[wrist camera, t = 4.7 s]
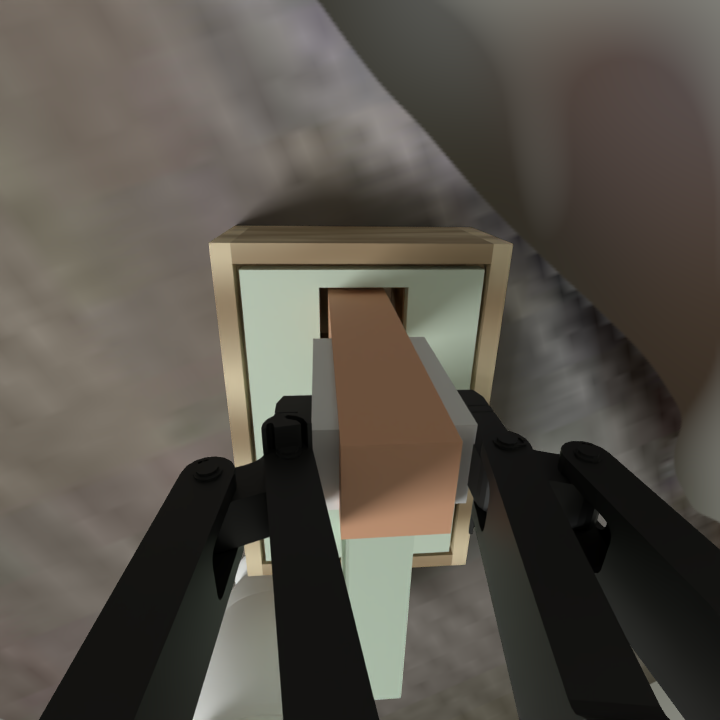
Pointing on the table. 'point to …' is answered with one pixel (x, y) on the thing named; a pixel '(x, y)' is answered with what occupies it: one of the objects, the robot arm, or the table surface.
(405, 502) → the key peg
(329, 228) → the wooden box
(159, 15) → the table surface
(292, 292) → the lid
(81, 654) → the robot arm
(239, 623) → the jar
